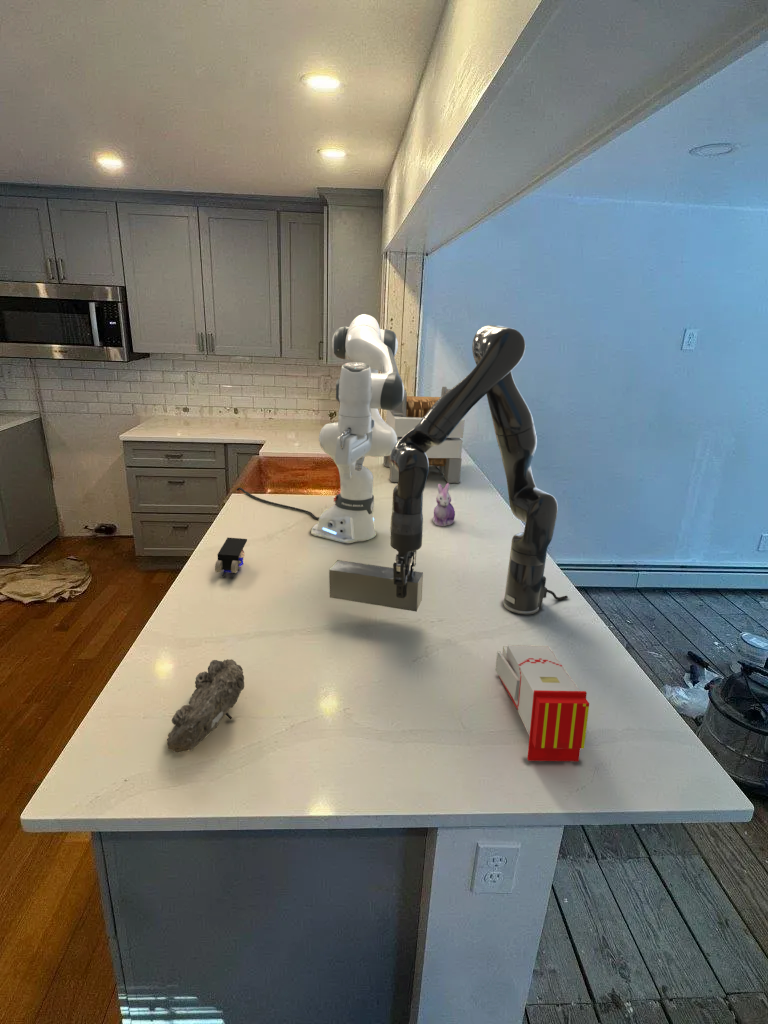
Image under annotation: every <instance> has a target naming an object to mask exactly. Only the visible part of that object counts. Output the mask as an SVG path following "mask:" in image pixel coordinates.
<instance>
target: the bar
mask: <svg viewBox="0 0 768 1024" xmlns="http://www.w3.org/2000/svg"><path fill="white" fill-rule="evenodd" d="M406 571H407V570H405V572H406ZM328 574H329V575H328V579H329V582H328V583H329V584H328V585H329V586H328V587H329V598H330V599H335V600H336V599H337V600H343V601H348V602H355V603H359V604H360V603H361V604H368V605H373V606H379V607H384V608H385V607H386V608H393V609H398V610H404V611H408V612H409V611H411V612H418V610H419V608H420V605H421V603H422V601H423V589H424V588H423V587H424V572H422V571H417V570H414V571H410V574H409V575H408V576H407V584H406V597H405V598H398V597H397V596H396V587H397V585H394V583H393V581H394V577H393V567H390V566H381V565H376V564H367V563H360V562H354V561H348V560H340V559H337V560H336V561H335V562H334V564H333V565H332V566H331V567H330V568H329V569H328ZM399 579H401V578H399Z"/></svg>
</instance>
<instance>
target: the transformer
mask: <svg viewBox="0 0 768 1024" xmlns="http://www.w3.org/2000/svg"><path fill="white" fill-rule="evenodd" d="M450 389H451V388H447V386H442V387H441V392H440V393H441V394H440V396H415V395H414V396H413V395H412V396H411V395H407V394H408V393H407V390H406V389H404V398H403V401H402V404H401V405H400V406H399V407H397V408H396V409H394V410H393V411H391V410H386V413H385V414H386V415H385V422H386V423H387V424H388V425H389V426H391V427H392V428H393V429H394V431H395V433H396V435H397V442H398V441H399V440H400V439H401V438H402V437H404V436H405V435H406V434H407V433H408V432H409V431H410V430H412V429H413V428H414V427H415V426H417V425H418V424H419V423H420V421H421V420H422V419H423V417H424V416H425V415H426V413H427V412H428V411H429V410H430V409H431V407H432V406H433V405H434V404H435V403H436V401H437V400H438V399H439V398H441V397H442V396H443V395H444V394H445V393H446V392H448V391H449V390H450ZM464 429H465V419H464V418H463V419H462V420H461V421H460V422H459V424H458V425H457V426H456V427H455V429H454V430H453V431H452V432H451V434H450V435H449V436H448V437H447V439H446V440H445V441H444V442H443V443H442V444H441V445H438V446H432V447H431V448H430V449H429V450H428V451H427V452H426V455H427V457H428V462H429V467H436V468H437V470H438V469H439V473H440V474H441V475H443V478H444V479H445V481H446V482H447V483H449V484H455V483H456V484H459V483H461V472H462V461H463V460H462V453H463V442H464V441H463V440H462V439H463V438H464V431H465V430H464ZM390 456H391V455H389V456H383V466H384V467H388V468H389V475H388V476H389V477H388V478H389V480H390V482H391V483H398V480H399V471H397V470H396V469H395V468H394V467H393V465H392V463H391V460H390Z"/></svg>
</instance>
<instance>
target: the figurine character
mask: <svg viewBox="0 0 768 1024" xmlns="http://www.w3.org/2000/svg"><path fill="white" fill-rule="evenodd" d="M247 542H248V538H240V537H226V539H225V541H224V543H223V544H222V546H221V547H220V549H219V551H218V552H217V560H216V562H215V564H214V572H215V573H221V577H222V578H224V577H225V576H226V574H227V573H230V574H231V573H232V574H231V578H234V577H235V575H236V573H237V572H239V571H240V567H242V566H243V565H244V564H245V562H244V558H245V551H244V547H245V546H246V544H247Z"/></svg>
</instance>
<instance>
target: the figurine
mask: <svg viewBox="0 0 768 1024" xmlns="http://www.w3.org/2000/svg"><path fill="white" fill-rule="evenodd" d="M437 493H438V494H437V496H436V498H435V501H436V503H437V504H436V506H435V507H434V508H433V518H432V523H434V525H435V526H440V527H445V526H450V525H452V524H453V523H454V521H455V517H456V511H455V508H454V506H453V504H452V503H451V502H452V498H451V494H450V483H448V482H447V483H446V484H445V485H444V487H443V485H442V484H441V483H438V484H437Z"/></svg>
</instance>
